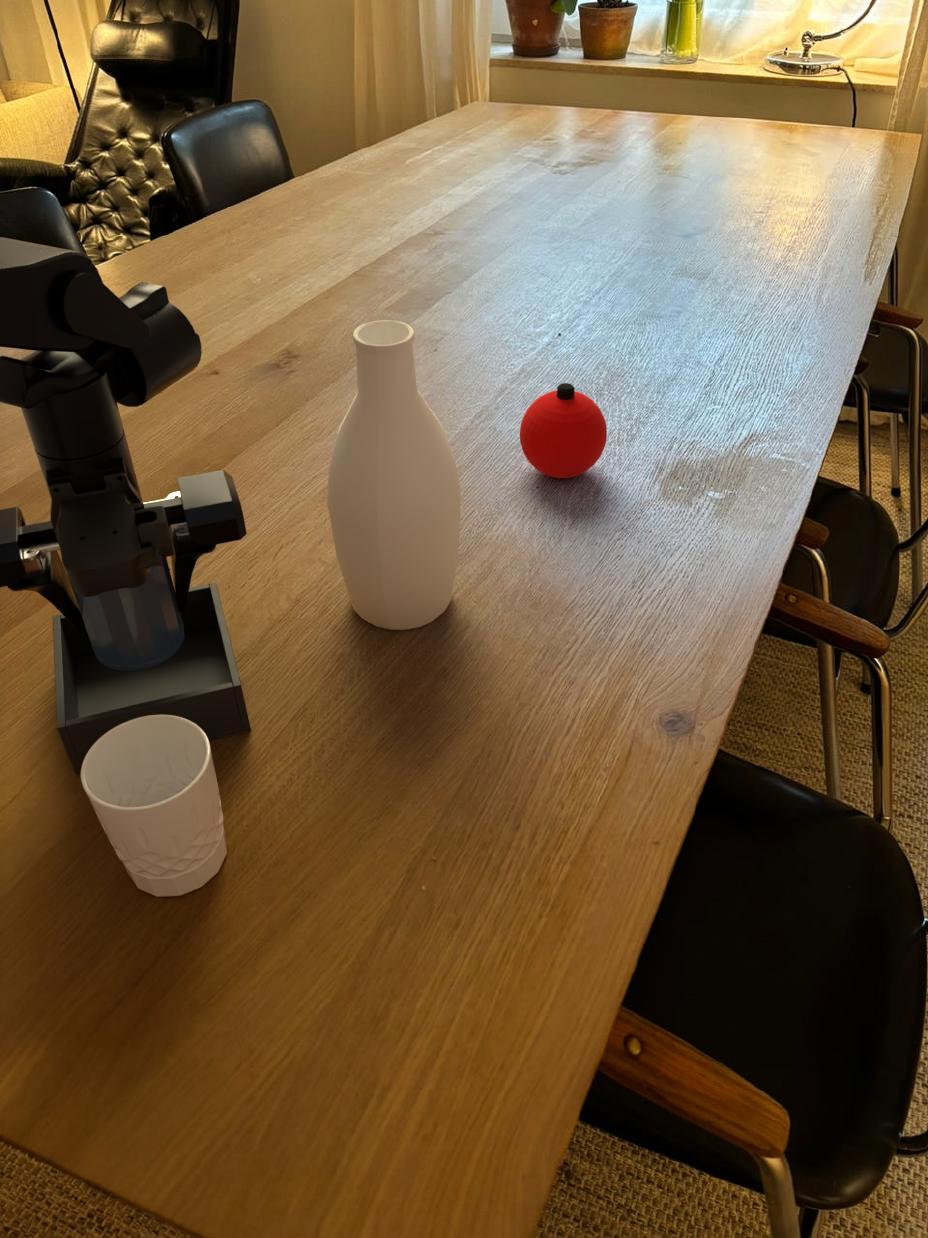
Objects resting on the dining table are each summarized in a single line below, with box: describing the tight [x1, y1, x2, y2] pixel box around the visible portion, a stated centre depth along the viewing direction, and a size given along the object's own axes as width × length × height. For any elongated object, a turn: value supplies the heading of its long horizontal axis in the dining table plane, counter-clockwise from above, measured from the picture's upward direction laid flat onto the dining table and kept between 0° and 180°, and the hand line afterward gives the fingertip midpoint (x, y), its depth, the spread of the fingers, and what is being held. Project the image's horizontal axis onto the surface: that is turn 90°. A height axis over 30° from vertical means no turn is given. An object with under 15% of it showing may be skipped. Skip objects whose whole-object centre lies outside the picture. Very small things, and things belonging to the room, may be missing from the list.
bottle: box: [326, 319, 462, 631], centre depth 81 cm, size 11×11×25 cm
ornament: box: [519, 382, 608, 479], centre depth 102 cm, size 9×9×10 cm
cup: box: [67, 557, 185, 671], centre depth 74 cm, size 7×7×8 cm
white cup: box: [80, 715, 228, 898], centre depth 65 cm, size 8×8×10 cm
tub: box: [52, 581, 252, 775], centre depth 79 cm, size 13×13×5 cm
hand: (133, 619), depth 75 cm, fingers closed on cup, 7 cm apart
